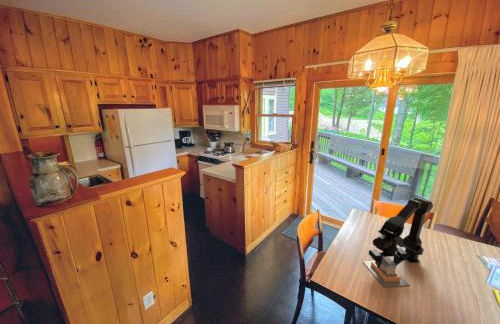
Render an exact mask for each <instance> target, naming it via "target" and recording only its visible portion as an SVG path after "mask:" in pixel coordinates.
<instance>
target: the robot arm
mask: <svg viewBox="0 0 500 324" xmlns="http://www.w3.org/2000/svg"><path fill="white" fill-rule="evenodd" d="M433 208H434V204H433V202H432V201H431V200H428V199H425V198H422V197H419V196H417V197H411V198H409V199H408V200H407V203H406V204H405V205H404V206H403V208H402V209H401V210H400V211H399V212H398V213H397V214H396V215H395V216H392V217H389V218H388V219H387V220H385V222H384V223H383V225H382V227H381V228H380V229H379V231H380V232H381V233H382V234H381V233H380V234H381V235H379V236H377V237H376V238H374V239H373V240H372V245H373V246H374V247H375V248H376V249H370V250H368V255H369V256H370V258H371V259H373V261H375V262H376V265H377V268H379V267H380V265H381V263H382V259H383V257H389V258H390V257H393V260H392V261H393V262H394V263H395V264H396V265H397V266H398V265H399V264H400V263H403V262H404V261H407V262H409V263H410V264H411V263H420V262H421V261H420V259H419V256H423V254H424V251H425V249H424V247H422V243H423V242H422V240H421V237H420V236H421V233H422V230H423V226H424V225H423V224H424V221H425V217H426V215H427V214H429V213H430V212H431V210H432V209H433ZM412 216H413V217H412ZM411 217H412V221H411V225H410V230H409V232H408V233H409V234H408V235H406V236H404V237H403V239H404V240H403V242H402V243H403V247H398V245H397V242H398V238H399V237H401V235H402V234H403V232H404V229H405V224H406V222H407V221H408V220H409V219H410V218H411ZM385 229H386V230H388V231H389V232H387V231H385ZM404 249H405V250H404ZM380 251H382V252H380Z"/></svg>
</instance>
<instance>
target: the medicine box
mask: <svg viewBox="0 0 500 324" xmlns="http://www.w3.org/2000/svg"><path fill="white" fill-rule="evenodd" d="M397 266H398V265H396V264H395V263H394V262H393V260H392V258H390V257H383V259H382V263H381V265H380V267H379V269H380V270H381V271H382V272H383V273H384V274H385V275H386V277H389V276H394V275H395V270H396V269H397ZM396 271H397V270H396Z"/></svg>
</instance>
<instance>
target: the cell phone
mask: <svg viewBox="0 0 500 324" xmlns="http://www.w3.org/2000/svg"><path fill="white" fill-rule="evenodd" d="M385 231H387V232H389V231H388V230H386V229H385ZM379 232H380V230H378V233H379ZM379 234H381V235H382V233H381V232H380V233H379ZM403 240H404V237H401V236H400V237H399V238H398V242H397V246H399V248H404V247H403V243H402V242H403Z"/></svg>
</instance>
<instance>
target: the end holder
mask: <svg viewBox="0 0 500 324" xmlns="http://www.w3.org/2000/svg"><path fill="white" fill-rule="evenodd" d="M362 263H363V264H364V265H365V266H366V268H367V269H368V270H369V271H370V273H371V274H372V275H373V276H374V278H375V279H376V280H377V281H378V283H379V284H381V286H382V287H383V288H384V289H385V288H397V287H398V288H401V287H409V286H411V285H410V283H408V281H406V279H405V278H404V277H403V276H402V275H401V274H400V273H399V272H398V271H397V270H395V275H394V276H389V277H386V275H385V274H384V273H383V272H382V271H381V270H380V269H379V268H377V265H376V262H375V261H374V260H364V261H362Z"/></svg>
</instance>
